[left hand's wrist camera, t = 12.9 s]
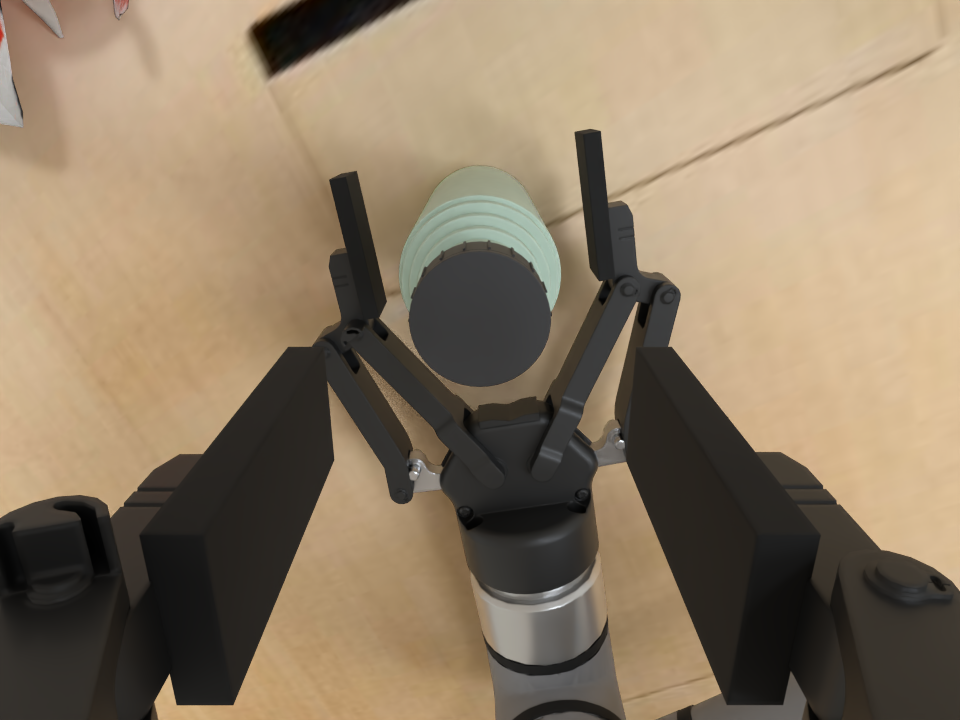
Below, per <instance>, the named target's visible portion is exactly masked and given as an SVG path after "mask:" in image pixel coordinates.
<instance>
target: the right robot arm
mask: <svg viewBox="0 0 960 720" xmlns="http://www.w3.org/2000/svg"><path fill="white" fill-rule="evenodd" d="M575 140H576V149H577V158H578V167H579V175H580V184H581V193H582V202H583V211H584V220H585V228H586V237H587V246H588V255H589V264H590V269H591V270H592V272H593V273H594V274H595V276H596V277H597V279H598V280H599V281H603V283H602V285H601V287H600V289H599V291H598V293H597V295H596V297H595V299H594V301H593V304H592V306H591V308H590V310H589V312H588V314H587V316H586V318H585V320H584V322H583V325H582V327H581V329H580V331H579V333H578V335H577V337H576V339H575V341H574V343H573V345H572V348H571V350H570V352H569V354H568V356H567V358H566V360H565V362H564V364H563V366H562V369H561V371H560V373H559V375H558V377H557V378H556V379H555V380H554V381H553V382H552V384H551V386H550V388H549V390H548V392H547V394H546V396H545V398H544V401H540V400H536V397H530V398H523V399H520V400H517V401H515V402H513V403H510V404H495V403H491V404H485V405H479V409H478V410H476V411H473V410H472V409H471V408H470V407H469V406H468V405H467V404H466V403H465V402H464V401H463V400H462V399H461V398H460V397H459V396H457V395H454V394H452V393H451V392H450V391H449V390H448V389H447V388H446V387H445V386H444V385H443V383H442V382H441V381H440V380H439V379H438V378H437V377H436V376H435V375H434V374H433V373H432V372H431V371H430V370H429V369H428V368H427V367H426V366H425V365H424V364H423V363H422V362H421V361H420V360H419V359H418V358H417V357H416V356H415V355H414V354H413V353H412V352H411V351H410V350H409V349H408V348H407V346H406V345H405V344H404V343H403V342H402V341H401V340H400V339H399V338H398V337H397V336H396V335H395V334H394V333H393V332H392V331H391V330H390V329H389V328H388V327H387V326H386V325H385V324H384V323H383V322H382V321H381V320H380V319H379V317H380V315H381V313H382V311H383V309H384V307H385V304H386V302H387V300H386V296H385V292H384V287H383V283H382V279H381V274H380V270H379V266H378V261H377V257H376V253H375V248H374V244H373V240H372V235H371V231H370V227H369V222H368V218H367V214H366V209H365V205H364V201H363V196H362V192H361V187H360V183H359V179H358V174H357V171H354V172H348V173H343V174H340V175H338V176H336V177H334V178H332V179H330V180H329V181H330V185H331V189H332V194H333V198H334V202H335V206H336V210H337V214H338V218H339V222H340V226H341V230H342V234H343V238H344V242H345V246H346V248H343V249H337V250H336V251H335V252H334V253H333V254H332V255H331V256H330V262H329V269H330V273H331V277H332V281H333V285H334V289H335V293H336V297H337V300H338V304H339V308H340V312H341V321H340V322H338V323H336V324H334V325H333V326H328V327H326V328H325V329H324V330H323V332H322V333H321V334H320V336H319V337H318V339H317V340H316V342H315V343H314V344H313V346H312V347H324V353H325V364H326V375H327V381H328V382H329V384H330V386H331V387H332V389H333V390H334V392H335V393H336V395H337V396H338V398H339V399H340V401H341V402H342V404H343V405H344V407H345V408H346V410H347V412H348V413H349V415H350V416H351V418H352V419H353V421H354V422H355V424H356V425H357V427H358V428H359V430H360V431H361V433H362V434H363V436H364V438H365V439H366V441H367V442H368V444H369V445H370V447H371V448H372V450H373V451H374V453H375V454H376V456H377V457H378V459H379V460H380V462H381V464H382V465H383V467H384V468H385V473H386V478H387V483H388V487H389V492H390V496H391V498H392V500H393V501H394V502H396V503H398V504H405V503H408V502H409V501H411V499H412V497H413V493H416V492H425V491H434V490H442V491H443V492H444V493H445V494H446V495H447V496H448V497H449V499H450V500H451V501H452V503H453V505H454V507H455V510H456V514H457V519H458V524H459V528H460V533H461V537H462V542H463V547H464V551H465V556H466V561H467V564H468V567H469V569H470V580H471V584H472V588H473V593H474V597H475V601H476V606H477V610H478V614H479V619H480V623H481V627H482V633H483V637H484V640H485V643H486V647H487V653H488V659H489V664H490V670H491V675H492V681H493V687H494V696H495V717H496V720H626V717H625V713H624V709H623V705H622V700H621V696H620V692H619V688H618V683H617V678H616V672H615V666H614V659H613V653H612V647H611V641H610V635H609V629H608V617H607V602H606V595H605V587H604V580H603V572H602V565H601V558H600V554H599V551H598V544H599V542H598V534H597V526H596V518H595V510H594V503H593V495H592V480H593V477H594V475H595V473H596V471H597V469H598V467H600V466H605V465H611V464H616V463H622V462H626V452H627V441H628V430H629V419H630V408H631V397H632V386H633V375H634V364H635V353H636V347H668V344H669V341H670V337H671V333H672V329H673V325H674V321H675V317H676V313H677V310H678V306H679V302H680V295H681V294H680V291H679V289H678V288H677V287H676V286H675V285H674V284H673V283H672V282H671V281H670V280H669V279H667V278H666V277H665V276H664V275H663V274H661V273H658V272H655V273H648V272H643V271H639V270H638V267H637V260H636V248H635V238H634V228H633V227H634V225H633V215H632V213H631V211H630V209H629V207H628V205H627V204H625V203H624V202H622V201H616V202H610V203H608V200H607V190H606V180H605V170H604V160H603V150H602V140H601V131H598V130H593V129H588V130H582V131H577V132H575ZM636 302H639V303H638V307H637V311H636V316H635V320H634V324H633V328H632V333H631V337H630V341H629V345H628V350H627V354H626V358H625V362H624V367H623V371H622V375H621V379H620V384H619V388H618V392H617V396H616V402H615V420H610V421H608V422H607V424H606V425H605V427H604V430H603V435H602V437H601V438H600V440H598V441H597V442H593V443H592V442H591V441H590V440H589V439H588V438H587V437H586V436H585V435H584V434H583V433H582V432H581V431H580V430H578V429H577V426H578V424H579V422H580V420H581V417H582V414H583V409H584V405H585V402H586V400H587V398H588V396H589V394H590V392H591V391H592V389H593V387H594V385H595V383H596V381H597V379H598V377H599V375H600V373H601V371H602V369H603V367H604V365H605V363H606V361H607V359H608V357H609V355H610V353H611V351H612V349H613V347H614V345H615V343H616V341H617V339H618V337H619V335H620V333H621V331H622V329H623V327H624V325H625V323H626V321H627V319H628V317H629V315H630V313H631V311H632V309H633V307H634V305H635V303H636ZM355 350H356V351H357V352H358V353H359V354H360V355H361V356H362V357H363V358H364V359H365V360H366V361H367V362H368V363H369V364H370V365H371V366H372V367H373V368H374V369H375V370H376V371H377V372H378V373H379V374H380V375H381V376H382V377H383V378H384V379H385V380H386V381H387V382H388V383H389V384H390V385H391V386H392V387H393V388H394V389H395V390H396V391H397V392H398V393H399V394H400V395H401V396H402V397H403V398H404V399H405V400H406V401H407V402H408V403H409V404H410V405H411V406H412V407H413V408H414V409H415V410H416V411H417V412H418V413H419V414H420V415H421V416H422V417H423V418H424V419H425V420H426V421H427V422H428V423H429V424H430V425H431V426H432V427H433V428H434V430H435V432H436V434H437V436H438V438H439V439H440V440H441V441H442V442H443V443H444V444H445V445H446V446H447V447H448V448H449V451H448V453H447V454H446V456H445V458H444V460H443V462H442V464H441V465H434V464H432V463H430V462H429V461H428V459H427V457H426V455H425V454H424V453H422V451H421V450H419V449H415V450H413V448H412V444H411V441H410V439H409V436H408V435H407V433H406V431H405V429H404V428H403V426H402V424H401V423H400V421H399V420H398V418H397V416H396V415H395V413H394V412H393V410H392V408H391V407H390V405H389V404H388V402H387V400H386V399H385V397H384V396H383V394H382V392H381V391H380V389H379V388H378V386H377V384H376V383H375V381H374V380H373V378H372V376H371V375H370V373H369V372H368V370H367V368H366V367H365V365H364V364H363V362H362V360H361V359H360V357H359V356H358V354H357V352H356V351H355ZM805 704H806V698H805V696H804V694H803V692H802V690H801V688H800V687H799V685H798V683H797V681H796V679H795V678H794V676H793V674H792V672H790V677H789V681H788V686H787V690H786V695H785V699H784V704H783V705H726V702H725V700H724V697H723V695H722V693H721V694H719V695H717V696H714V697H712V698H710V699H708V700H706V701H703V702H701V703H699V704H697V705H692V706H688V707H686V708H684V709H681V710H678V711H676V712H673V713H671V714H668V715H666V716H664V717H661V718H659V719H656V720H802V716H803V712H804V708H805Z"/></svg>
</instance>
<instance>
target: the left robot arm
mask: <svg viewBox="0 0 960 720" xmlns="http://www.w3.org/2000/svg"><path fill="white" fill-rule="evenodd" d="M333 462H334V452H333V441H332V430H331V419H330V408H329V397H328V386H327V375H326V364H325V353H324V347H288V348H287V349H286V350H285V352H284V353H283V354H282V356H281V357H280V358H279V359H278V361H277V362H276V363H275V364H274V366H273V367H272V368H271V369H270V371H269V372H268V373H267V374H266V376H265V377H264V378H263V379H262V381H261V382H260V383H259V384H258V386H257V387H256V388H255V390H254V391H253V392H252V393H251V395H250V396H249V397H248V398H247V400H246V401H245V402H244V403H243V405H242V406H241V407H240V408H239V410H238V411H237V412H236V413H235V415H234V416H233V417H232V418H231V420H230V421H229V422H228V423H227V425H226V426H225V427H224V429H223V430H222V431H221V432H220V434H219V435H218V436H217V437H216V439H215V440H214V441H213V442H212V444H211V445H210V446H209V447H208V449H207V450H206V451H205V452H204V454H179V455H178V456H176V457H174V458H173V459H171V460H169V461H168V462H166V463H164V464H163V465H161V466H159V467H158V468H156V469H154V470H153V471H152V472H151V474H150V475H149V476H148V477H147V478H146V479H145V480H144V481H143V482H142V484H141V485H140V486H139V487H138V490H137V492H133V494H132V495H131V496H130V497H129V498H128V499H127V500H126V501H125V503H124V507H120V508H119V509H118V510H117V511H116V513H115V514H114V515H113V516H112V517H111V518H110V515H109V511H108V506H107V505H106V504H105V503H104V502H102V501H101V500H99V499H98V498H94V497H88V496H82V495H75V496H61V497H55V498H51V499H47V500H42V501H38V502H34V503H31V504H29V505H26V506H24V507H22V508H19V509H17V510H14V511H12V512H9V513H8V514H6V515H5V516H3V517H1V518H0V720H158V717H157V712H156V708H155V704H154V701H155V699H156V697H157V696H158V694H159V692H160V690H161V688H162V686H163V685H164V683H165V681H166V679H167V677H168V675H169V674H170V677H171V681H172V686H173V690H174V695H175V699H176V704H177V705H234V702H235V700H236V697H237V695H238V692H239V690H240V688H241V685H242V683H243V680H244V678H245V675H246V673H247V671H248V668H249V666H250V663H251V661H252V658H253V656H254V654H255V651H256V649H257V646H258V644H259V641H260V639H261V637H262V634H263V632H264V629H265V627H266V624H267V622H268V620H269V617H270V615H271V612H272V610H273V607H274V605H275V603H276V600H277V598H278V595H279V593H280V590H281V588H282V586H283V583H284V581H285V578H286V576H287V573H288V571H289V569H290V566H291V564H292V561H293V559H294V556H295V554H296V552H297V549H298V547H299V544H300V542H301V539H302V537H303V535H304V532H305V530H306V527H307V525H308V522H309V520H310V518H311V515H312V513H313V510H314V508H315V505H316V503H317V501H318V498H319V496H320V493H321V491H322V488H323V486H324V483H325V481H326V479H327V476H328V474H329V471H330V469H331V466H332V464H333ZM626 462H627V464H628V466H629V469H630V471H631V474H632V476H633V479H634V481H635V483H636V486H637V488H638V491H639V493H640V496H641V498H642V501H643V503H644V505H645V508H646V510H647V513H648V515H649V518H650V520H651V522H652V525H653V527H654V530H655V532H656V535H657V537H658V539H659V542H660V544H661V547H662V549H663V552H664V554H665V556H666V559H667V561H668V564H669V566H670V569H671V571H672V573H673V576H674V578H675V581H676V583H677V586H678V588H679V590H680V593H681V595H682V598H683V600H684V603H685V605H686V607H687V610H688V612H689V615H690V617H691V620H692V622H693V624H694V627H695V629H696V632H697V634H698V637H699V639H700V641H701V644H702V646H703V649H704V651H705V654H706V656H707V658H708V661H709V663H710V666H711V668H712V671H713V673H714V675H715V678H716V680H717V683H718V685H719V688H720V690H721V692H722V695H723V697H724V700H725V702H726V705H783V704H784V699H785V695H786V690H787V686H788V681H789V677H790V672H792V674H793V676H794V678H795V679H796V681H797V683H798V685H799V687H800V688H801V690H802V692H803V694H804V696H805V698H806V704H805V708H804V712H803V716H802V720H960V591H959V590H958V588H957V587H956V586H955V585H954V583H953V582H952V581H951V580H949V579H948V578H947V577H945V576H944V575H942V574H941V573H940V572H938V571H937V570H936V569H934V568H932V567H930V566H928V565H926V564H924V563H922V562H920V561H918V560H915V559H913V558H911V557H908V556H904V555H901V554H897V553H893V552H890V551H883V550H881V549H880V548H879V547H878V546H877V545H876V544H875V543H874V542H873V541H872V539H871V538H870V537H869V536H868V535H867V534H866V533H865V532H864V531H863V530H862V528H861V527H860V526H859V525H858V524H857V523H856V522H855V521H854V520H853V518H852V517H851V516H850V515H849V514H848V513H847V512H846V511H845V510H844V508H843V507H842V506H841V505H837V503H836V500H835V498H834V497H833V496H832V495H831V494H830V493H829V492H828V491H827V490H826V489H823V485H822V484H821V483H820V482H819V481H818V480H817V479H816V477H815V476H814V475H813V474H812V473H811V472H810V471H809V470H808V469H807V468H806V467H805V466H803V465H801V464H800V463H798V462H796V461H795V460H793V459H791V458H790V457H788V456H786V455H785V454H783V453H781V452H755V451H754V450H753V449H752V447H751V446H750V445H749V444H748V442H747V441H746V440H745V439H744V437H743V436H742V435H741V434H740V432H739V431H738V430H737V429H736V427H735V426H734V425H733V424H732V422H731V421H730V420H729V418H728V417H727V416H726V415H725V413H724V412H723V411H722V410H721V408H720V407H719V406H718V405H717V403H716V402H715V401H714V400H713V398H712V397H711V396H710V395H709V393H708V392H707V391H706V390H705V388H704V387H703V386H702V384H701V383H700V382H699V381H698V379H697V378H696V377H695V376H694V374H693V373H692V372H691V371H690V369H689V368H688V367H687V366H686V364H685V363H684V362H683V361H682V359H681V358H680V357H679V356H678V354H677V353H676V352H675V350H674V349H673V348H672V347H636V353H635V364H634V375H633V386H632V397H631V408H630V419H629V430H628V441H627V452H626Z"/></svg>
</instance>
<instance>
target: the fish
mask: <svg viewBox="0 0 960 720" xmlns="http://www.w3.org/2000/svg"><path fill="white" fill-rule="evenodd" d="M22 1H23V2H24V3H25V4H26V5H27V6H28V7H29V8H30V9H32V10H33V11H34V12H35V13H36V14H37V15H38V16H39V17H40V18H41V19H42V20H43V21H44V22H45V23H46V24H47V25H48V26H49V27H50V28H51V29H52V30H53V31H54V33H55V34H56V35H57V36H58V37H60V38H63V37H64V36H63V34H62V31H61V28H60V25H59V22H58V18H57V16H56V13H55V10H54V8H53V7H52V5H51V3H50V1H49V0H22ZM128 3H129V0H113V4H114V13H115V17H116V18H117V19H118V20H119V19H120V17H121V15H122V14H123V13H124V12H125V11H126V10H127V9H128ZM0 124H5V125H11V126H17V127H22V128H23V111H22V108H21V105H20V101H19V98H18V95H17V91H16V88H15V85H14V82H13V77H12V70H11V63H10V56H9V50H8V44H7V38H6V32H5V26H4V20H3V14H2V8H1V2H0Z"/></svg>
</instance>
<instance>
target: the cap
mask: <svg viewBox="0 0 960 720" xmlns="http://www.w3.org/2000/svg"><path fill="white" fill-rule="evenodd" d="M546 293H547V289H546V286H545V284H544V281H543V282H542V281H541V279H540V277H539V275H538V273H537V272H536V270H535V269H534V267H533V264H532V262H528V261H527V260H526V259H525V258H524V257H523V256H522V255H520V254H519V253H517V252H516V251H514V248H512V247H511V248H508V247H506V246H503V245H500V244H497V243H492V242H490V240H488V242H483V241H477V242H468V243H466V241H464V242H463V244H460V245H457V246H454V247H452V248H450V249H448V250H446V251H443V250H442V251H441V253H440V255H438V256H437V257H436V258H435V259H434V260H433V261H432V262H431V263H430V264H429V265H428V266H427V267H426V266H425V267H424V269H423V272H422V275H421V277H420V279H419V281H418V284H417V287H414V289H413V292H412V295H411V299H412V301H411V305H410V311H409V320H408V321H409V326H410V332H411V336H412V340H413V342H414V345H415V347H416V349H417V351H418V353H419V354H420V356H421V357H422V359H423V360H424V361H425V362H426V363H427V364H428V365H429V366H430V367H431V368H432V369H433V370H434V371H435V372H437V373H438V374H439V375H441V376H443V377H444V378H446V379H448V380H451V381H453V382H456V383H459V384H462V385H467V386H476V387H484V386H493V385H498V384H501V383H504V382H507V381H509V380H512V379H514V378H516V377H517V376H519V375H521V374H522V373H523V372H525V371H526V370H527V369H528V368H529V367H530V366H531V365H532V364H533V363H534V362H535V361H536V360H537V358H538V357H539V356H540V354H541V353H542V351H543V349H544V347H545V345H546V342H547V340H548V336H549V332H550V326H551V316H552V313H551V310H550V306H549V302H548V298H547V295H546Z"/></svg>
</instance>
